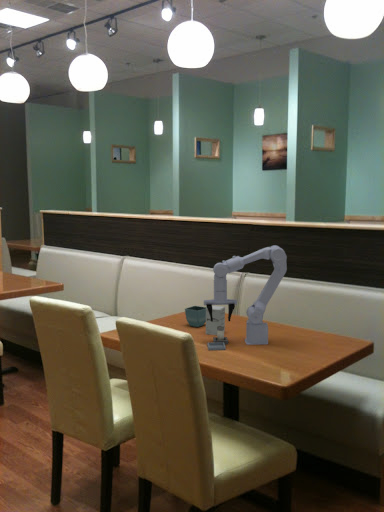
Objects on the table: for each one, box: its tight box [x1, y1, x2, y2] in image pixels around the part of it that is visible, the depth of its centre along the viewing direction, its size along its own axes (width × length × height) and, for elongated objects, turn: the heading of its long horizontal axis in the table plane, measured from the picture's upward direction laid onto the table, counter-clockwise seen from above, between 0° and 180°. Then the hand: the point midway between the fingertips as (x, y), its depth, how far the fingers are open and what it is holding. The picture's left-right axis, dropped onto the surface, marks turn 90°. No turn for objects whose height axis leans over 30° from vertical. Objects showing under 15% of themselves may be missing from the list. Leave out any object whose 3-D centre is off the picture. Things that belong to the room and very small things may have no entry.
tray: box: [206, 342, 227, 351], centre depth 227 cm, size 7×7×2 cm
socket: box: [212, 336, 229, 346], centre depth 234 cm, size 6×6×2 cm
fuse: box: [216, 326, 225, 340], centre depth 234 cm, size 3×3×7 cm
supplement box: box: [205, 305, 226, 336], centre depth 250 cm, size 7×7×13 cm
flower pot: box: [184, 305, 207, 328], centre depth 264 cm, size 9×9×9 cm
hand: (220, 320), depth 234 cm, fingers open, 7 cm apart
